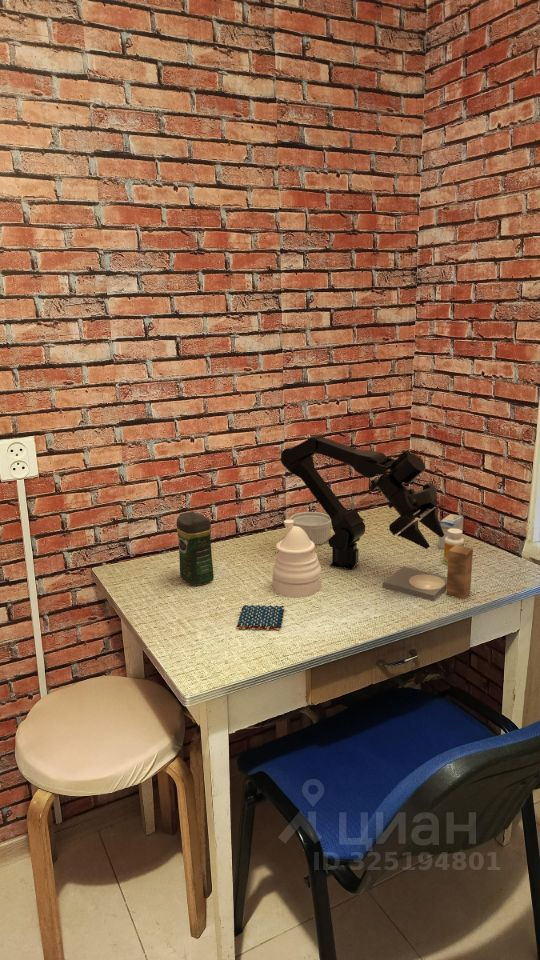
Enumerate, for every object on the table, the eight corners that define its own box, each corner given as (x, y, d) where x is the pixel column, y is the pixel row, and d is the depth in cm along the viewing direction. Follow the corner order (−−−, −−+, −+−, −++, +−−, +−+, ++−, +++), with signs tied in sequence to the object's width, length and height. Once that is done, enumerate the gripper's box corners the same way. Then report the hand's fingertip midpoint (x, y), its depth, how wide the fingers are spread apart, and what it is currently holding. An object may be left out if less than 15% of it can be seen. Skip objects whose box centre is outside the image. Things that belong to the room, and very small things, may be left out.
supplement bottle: (463, 567, 178) (465, 534, 175) (443, 566, 179) (445, 533, 176) (462, 559, 183) (464, 527, 180) (442, 558, 184) (444, 526, 182)
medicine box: (448, 540, 198) (449, 513, 196) (462, 542, 196) (463, 515, 193) (438, 548, 192) (439, 520, 190) (452, 551, 189) (454, 523, 187)
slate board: (382, 587, 168) (382, 581, 167) (403, 571, 177) (403, 565, 176) (433, 601, 159) (433, 594, 159) (452, 583, 169) (452, 577, 168)
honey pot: (265, 593, 166) (263, 528, 161) (282, 573, 177) (280, 511, 172) (313, 600, 162) (313, 533, 157) (327, 579, 173) (327, 516, 168)
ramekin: (310, 528, 211) (310, 508, 209) (341, 538, 201) (341, 517, 200) (281, 539, 202) (280, 518, 200) (311, 550, 193) (311, 528, 191)
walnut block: (446, 594, 162) (448, 550, 159) (453, 588, 166) (455, 544, 163) (463, 599, 160) (466, 554, 156) (470, 592, 163) (473, 548, 160)
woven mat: (241, 610, 158) (241, 603, 158) (284, 611, 157) (284, 604, 157) (235, 632, 148) (235, 624, 148) (281, 633, 147) (281, 625, 147)
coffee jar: (218, 581, 174) (215, 516, 169) (192, 589, 169) (188, 522, 164) (201, 569, 181) (197, 507, 176) (176, 576, 177) (171, 513, 172)
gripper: (401, 484, 155) (443, 536, 151) (433, 467, 169) (472, 514, 165) (372, 510, 161) (411, 560, 158) (404, 491, 176) (441, 537, 172)
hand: (435, 542), depth 163 cm, fingers open, 9 cm apart
